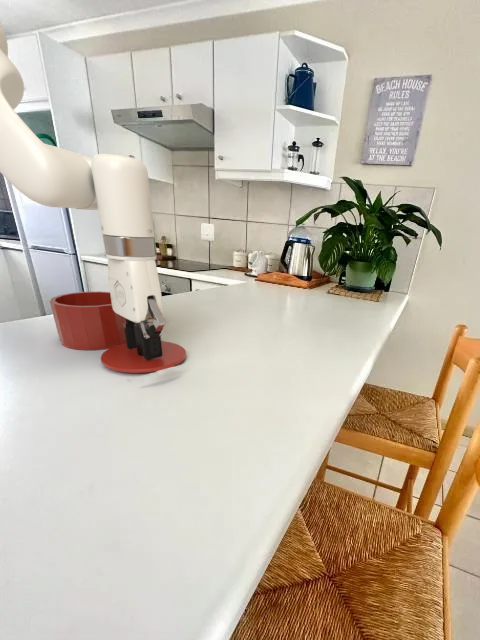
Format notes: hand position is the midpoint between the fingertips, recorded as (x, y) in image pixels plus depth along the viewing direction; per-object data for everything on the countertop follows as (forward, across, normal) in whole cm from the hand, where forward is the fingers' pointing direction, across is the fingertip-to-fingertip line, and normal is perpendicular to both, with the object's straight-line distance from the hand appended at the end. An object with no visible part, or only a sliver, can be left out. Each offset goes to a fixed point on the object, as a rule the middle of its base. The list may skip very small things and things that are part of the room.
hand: (144, 351), depth 60 cm
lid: (+1, 0, 0) cm, 1 cm away
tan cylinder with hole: (+2, -20, +12) cm, 23 cm away
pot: (+2, -16, -2) cm, 16 cm away
